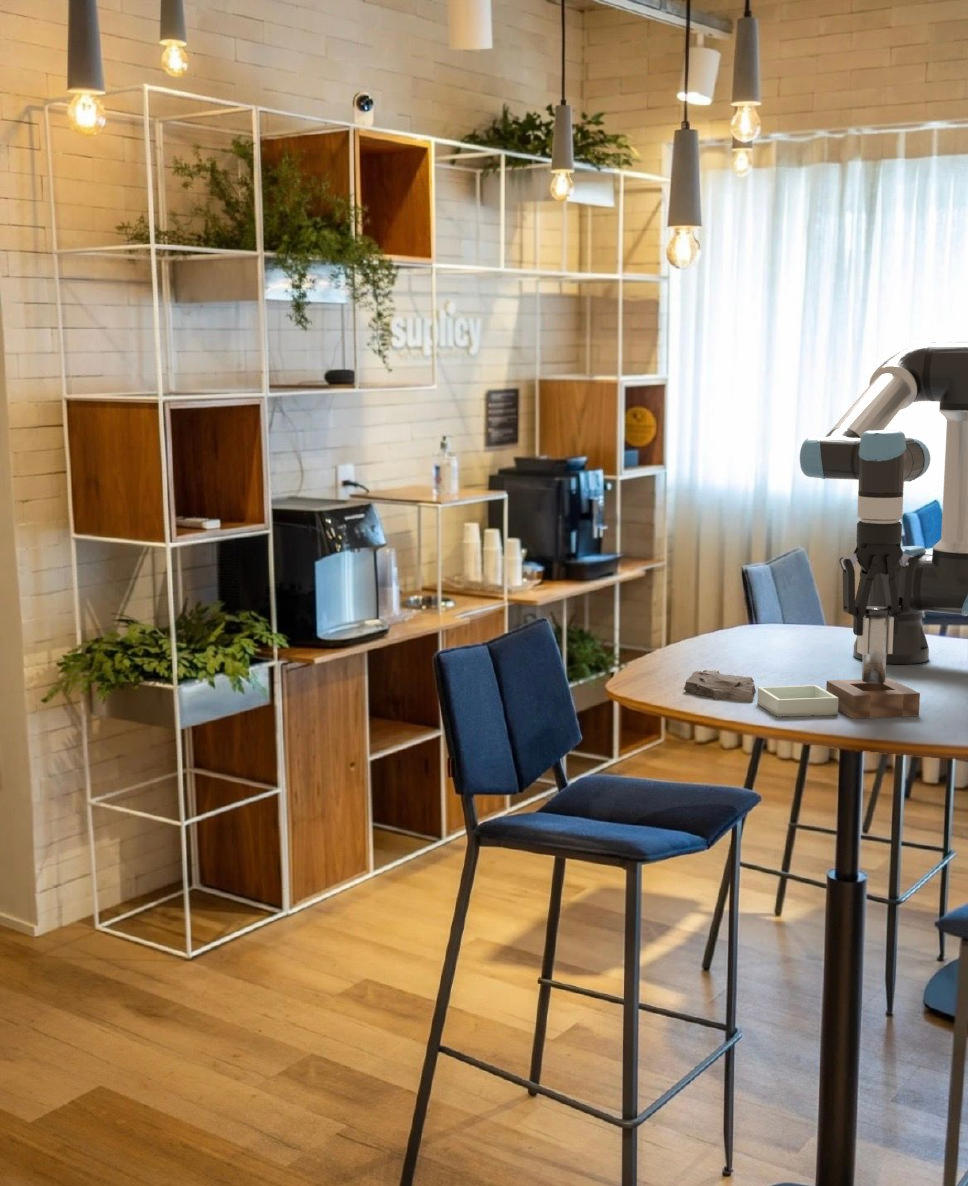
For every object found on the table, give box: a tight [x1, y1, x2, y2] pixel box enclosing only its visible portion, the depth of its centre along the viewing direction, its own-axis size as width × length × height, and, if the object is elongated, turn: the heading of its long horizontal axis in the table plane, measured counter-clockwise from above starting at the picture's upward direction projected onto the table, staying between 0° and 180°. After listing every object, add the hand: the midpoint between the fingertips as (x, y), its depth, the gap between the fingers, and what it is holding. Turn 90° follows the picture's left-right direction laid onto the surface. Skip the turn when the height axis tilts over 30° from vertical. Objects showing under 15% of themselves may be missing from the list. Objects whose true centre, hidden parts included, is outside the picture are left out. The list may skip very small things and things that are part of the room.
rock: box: [683, 669, 757, 703], centre depth 254 cm, size 14×9×4 cm
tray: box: [756, 684, 839, 718], centre depth 243 cm, size 11×10×3 cm
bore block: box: [825, 677, 921, 719], centre depth 243 cm, size 12×12×4 cm
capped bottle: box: [861, 606, 889, 684], centre depth 241 cm, size 4×4×13 cm
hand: (874, 652), depth 242 cm, fingers closed on capped bottle, 4 cm apart
